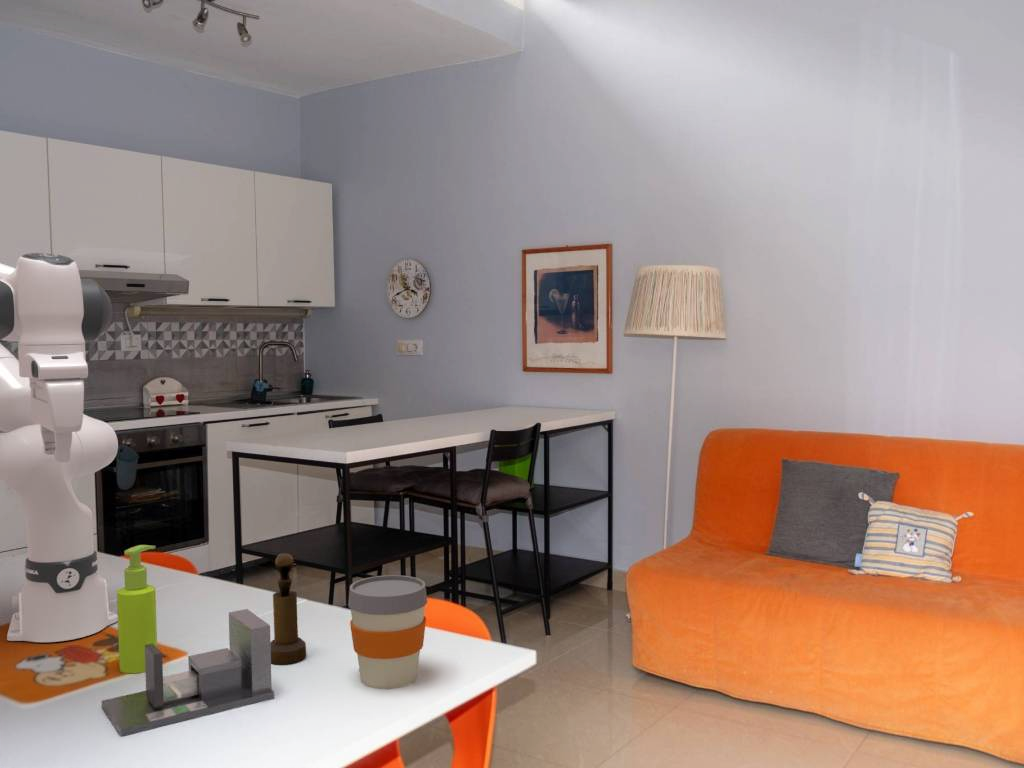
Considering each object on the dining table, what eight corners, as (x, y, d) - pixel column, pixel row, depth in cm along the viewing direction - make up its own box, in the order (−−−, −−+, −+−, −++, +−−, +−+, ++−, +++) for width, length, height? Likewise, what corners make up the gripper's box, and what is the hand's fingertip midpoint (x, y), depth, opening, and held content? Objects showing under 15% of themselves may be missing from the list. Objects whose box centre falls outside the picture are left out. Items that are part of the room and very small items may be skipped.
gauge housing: (101, 707, 137) (99, 634, 137) (246, 673, 150) (245, 607, 149) (120, 736, 128) (118, 658, 127) (274, 698, 140) (272, 627, 140)
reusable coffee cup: (394, 699, 140) (393, 601, 139) (332, 682, 146) (331, 589, 145) (443, 672, 150) (442, 581, 149) (384, 657, 157) (382, 571, 156)
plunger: (146, 697, 138) (144, 644, 137) (221, 680, 144) (219, 630, 144) (161, 716, 131) (159, 661, 130) (238, 697, 138) (237, 644, 137)
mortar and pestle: (270, 651, 160) (268, 549, 159) (308, 650, 161) (306, 548, 160) (263, 665, 154) (261, 559, 152) (303, 664, 154) (301, 558, 153)
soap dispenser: (169, 660, 156) (165, 544, 155) (140, 675, 150) (136, 553, 148) (141, 656, 158) (137, 541, 157) (111, 671, 152) (107, 551, 150)
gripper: (18, 362, 142) (22, 451, 143) (40, 367, 126) (45, 468, 127) (62, 361, 146) (66, 448, 147) (90, 366, 129) (94, 463, 130)
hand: (56, 457), depth 137 cm, fingers open, 8 cm apart
